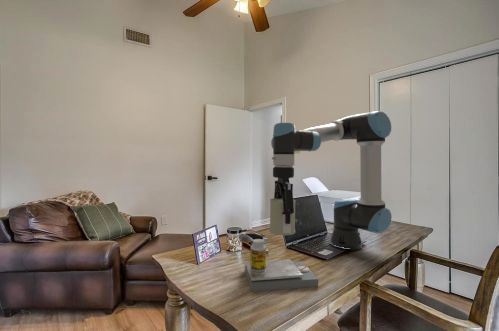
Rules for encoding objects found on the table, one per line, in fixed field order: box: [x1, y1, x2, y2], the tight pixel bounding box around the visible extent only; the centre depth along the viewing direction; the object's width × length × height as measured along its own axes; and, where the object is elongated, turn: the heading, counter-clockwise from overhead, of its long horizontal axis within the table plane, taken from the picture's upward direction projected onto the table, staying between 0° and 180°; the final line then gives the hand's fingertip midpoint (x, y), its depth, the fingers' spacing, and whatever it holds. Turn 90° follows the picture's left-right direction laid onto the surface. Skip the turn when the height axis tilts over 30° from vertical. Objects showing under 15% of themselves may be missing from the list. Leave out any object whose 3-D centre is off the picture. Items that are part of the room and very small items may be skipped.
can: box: [269, 197, 297, 236], centre depth 90 cm, size 9×9×12 cm
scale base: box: [244, 261, 319, 292], centre depth 91 cm, size 23×15×3 cm, turn 100°
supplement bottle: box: [249, 238, 267, 272], centre depth 89 cm, size 6×6×10 cm
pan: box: [244, 259, 303, 281], centre depth 90 cm, size 18×13×1 cm
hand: (282, 228), depth 91 cm, fingers closed on can, 9 cm apart
